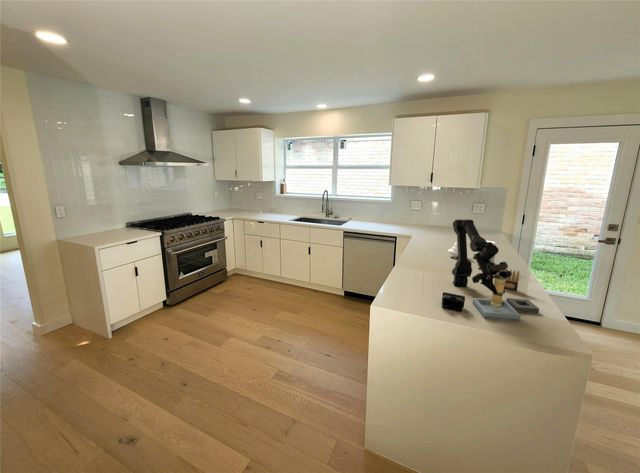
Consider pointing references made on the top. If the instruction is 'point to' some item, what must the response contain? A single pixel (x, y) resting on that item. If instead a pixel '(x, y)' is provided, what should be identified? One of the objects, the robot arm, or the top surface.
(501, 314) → the parts tray
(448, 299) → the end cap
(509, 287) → the ammunition clip
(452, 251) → the mechanical part
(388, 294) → the top surface
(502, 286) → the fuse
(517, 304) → the block
